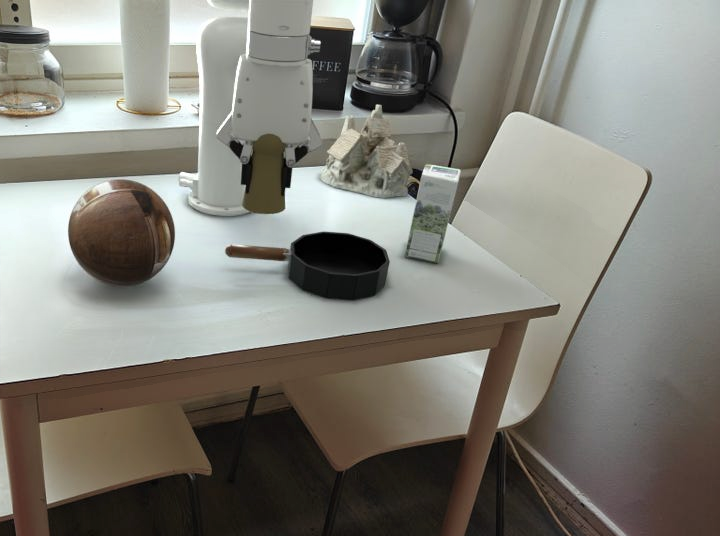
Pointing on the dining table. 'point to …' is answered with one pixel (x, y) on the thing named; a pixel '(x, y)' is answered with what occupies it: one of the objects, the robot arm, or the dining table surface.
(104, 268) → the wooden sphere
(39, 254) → the dining table surface
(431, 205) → the syrup box
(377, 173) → the ceramic cottage
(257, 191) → the olive game pawn
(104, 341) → the dining table surface
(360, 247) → the frying pan
